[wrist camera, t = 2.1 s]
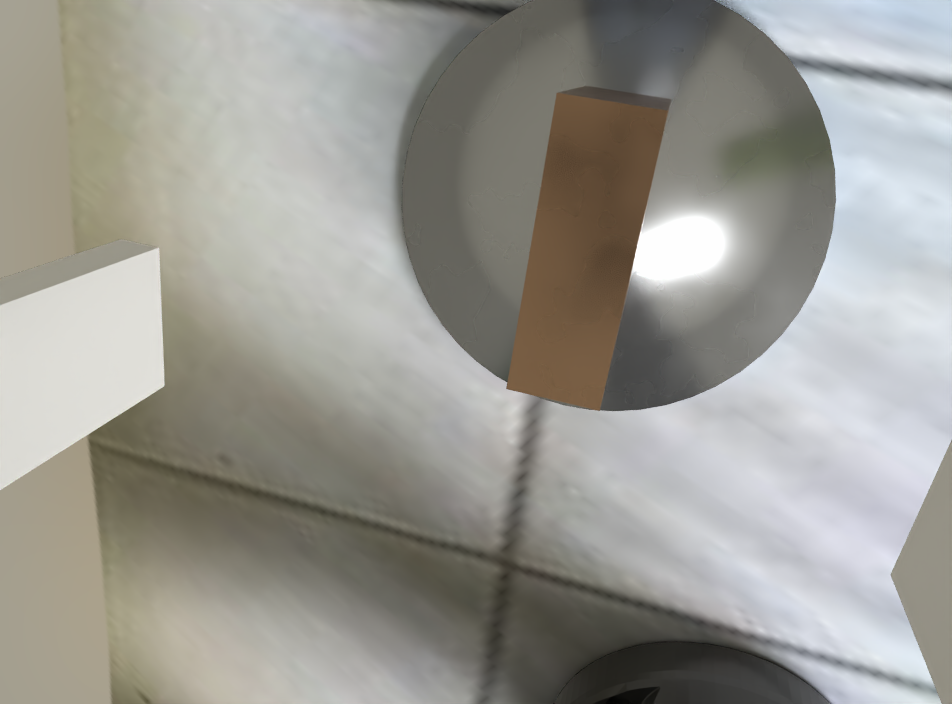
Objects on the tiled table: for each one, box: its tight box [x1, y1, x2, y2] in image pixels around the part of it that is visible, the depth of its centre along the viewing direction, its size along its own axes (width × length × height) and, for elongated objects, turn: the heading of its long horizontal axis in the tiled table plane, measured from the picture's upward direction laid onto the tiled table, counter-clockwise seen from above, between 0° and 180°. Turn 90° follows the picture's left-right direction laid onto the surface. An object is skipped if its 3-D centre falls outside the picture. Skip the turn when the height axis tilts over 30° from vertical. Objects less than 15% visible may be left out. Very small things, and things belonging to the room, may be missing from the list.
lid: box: [402, 0, 836, 411], centre depth 25 cm, size 16×16×8 cm
